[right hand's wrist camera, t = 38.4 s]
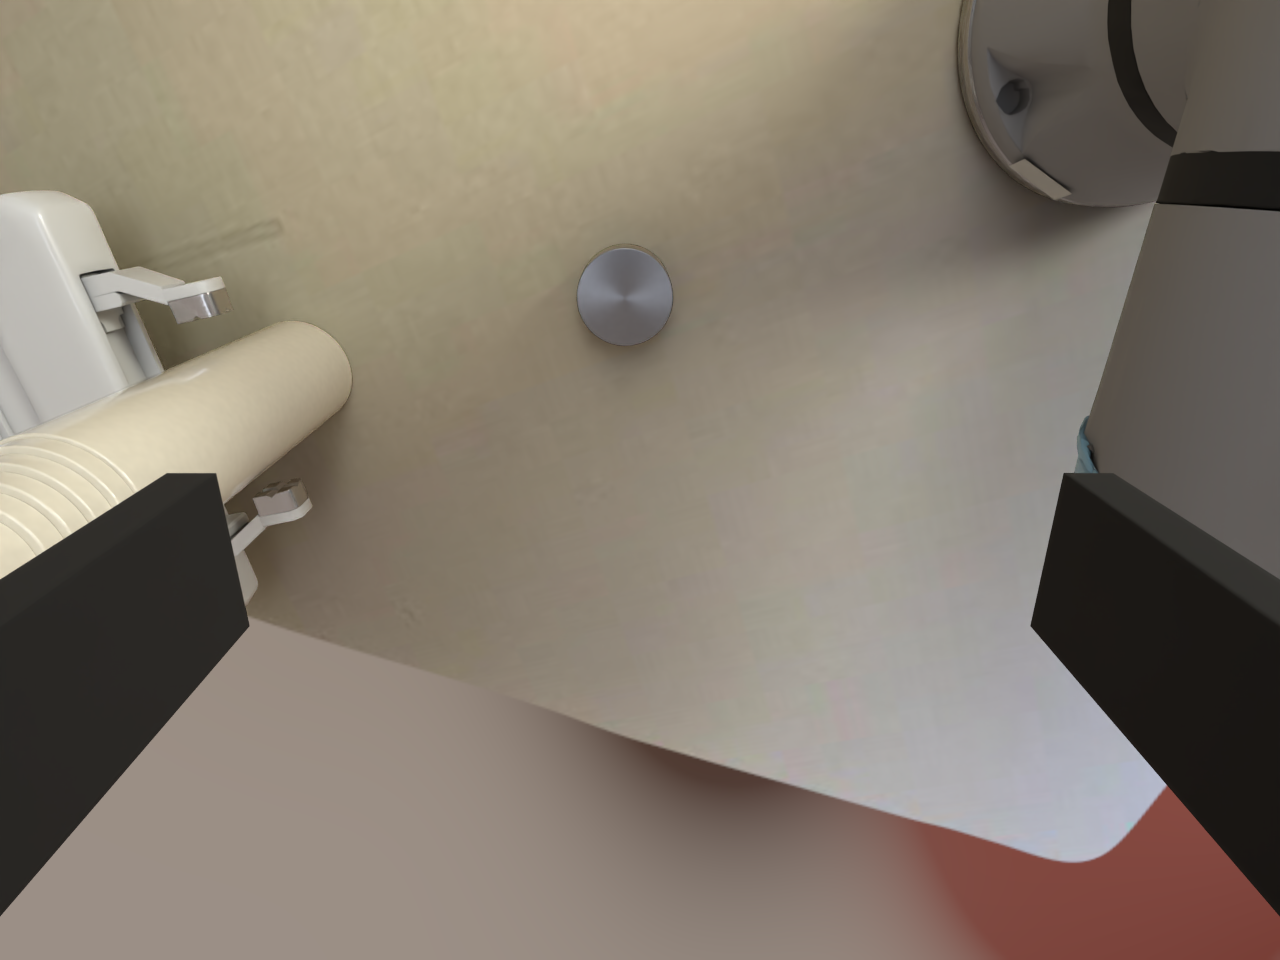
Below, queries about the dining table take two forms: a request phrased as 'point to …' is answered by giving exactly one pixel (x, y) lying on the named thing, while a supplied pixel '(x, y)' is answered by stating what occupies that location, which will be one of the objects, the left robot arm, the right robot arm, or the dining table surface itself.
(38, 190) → the left robot arm
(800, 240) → the dining table surface
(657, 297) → the cap
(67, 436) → the bottle
